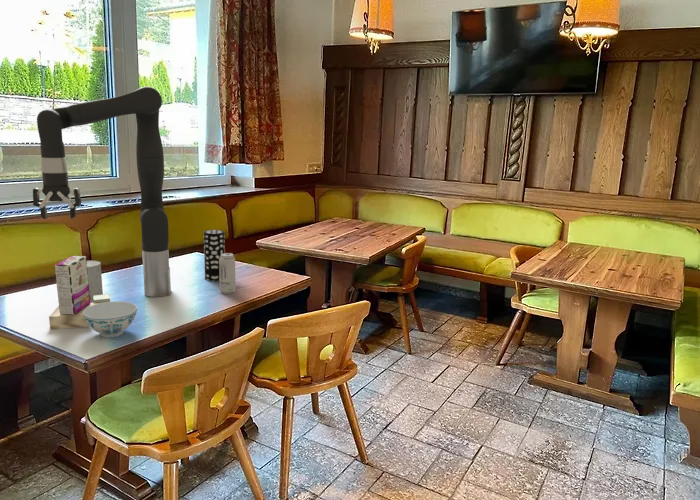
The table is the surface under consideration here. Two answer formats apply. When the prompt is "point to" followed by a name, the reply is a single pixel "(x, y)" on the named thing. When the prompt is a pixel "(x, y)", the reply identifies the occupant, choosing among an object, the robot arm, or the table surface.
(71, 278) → the candy bar box
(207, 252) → the white-spotted black cylinder
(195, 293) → the table surface
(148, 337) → the table surface
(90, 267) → the speckled grey cylinder
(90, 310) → the chinaware
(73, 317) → the pedestal
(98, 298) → the brick
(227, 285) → the energy drink can
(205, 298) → the table surface
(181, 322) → the table surface
